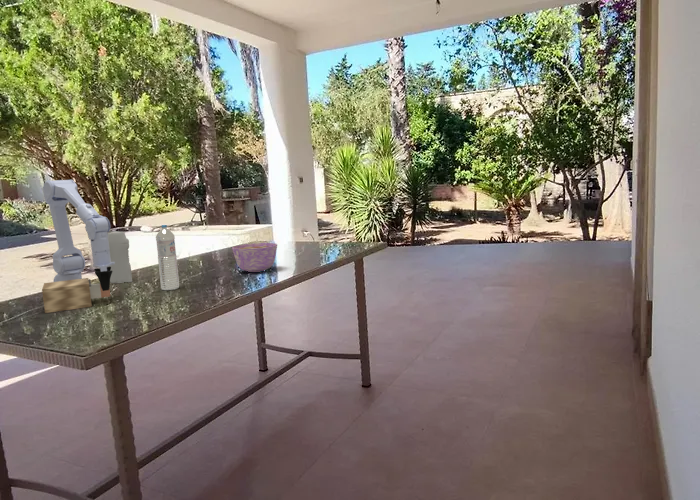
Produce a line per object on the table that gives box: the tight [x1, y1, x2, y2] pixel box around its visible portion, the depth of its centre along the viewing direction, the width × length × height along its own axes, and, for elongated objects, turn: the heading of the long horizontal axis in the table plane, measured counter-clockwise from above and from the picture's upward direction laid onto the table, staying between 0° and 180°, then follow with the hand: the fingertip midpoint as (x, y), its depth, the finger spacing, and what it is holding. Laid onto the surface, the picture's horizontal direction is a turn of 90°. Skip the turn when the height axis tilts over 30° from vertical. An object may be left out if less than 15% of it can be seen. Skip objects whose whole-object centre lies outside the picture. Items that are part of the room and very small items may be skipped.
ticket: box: [89, 282, 111, 300], centre depth 184 cm, size 19×1×5 cm, turn 117°
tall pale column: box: [108, 231, 133, 284], centre depth 223 cm, size 11×4×22 cm, turn 86°
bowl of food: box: [231, 242, 278, 273], centre depth 233 cm, size 20×20×12 cm
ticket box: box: [41, 277, 93, 314], centre depth 183 cm, size 15×14×8 cm
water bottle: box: [155, 224, 180, 291], centre depth 202 cm, size 7×7×25 cm
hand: (105, 288), depth 188 cm, fingers open, 7 cm apart
